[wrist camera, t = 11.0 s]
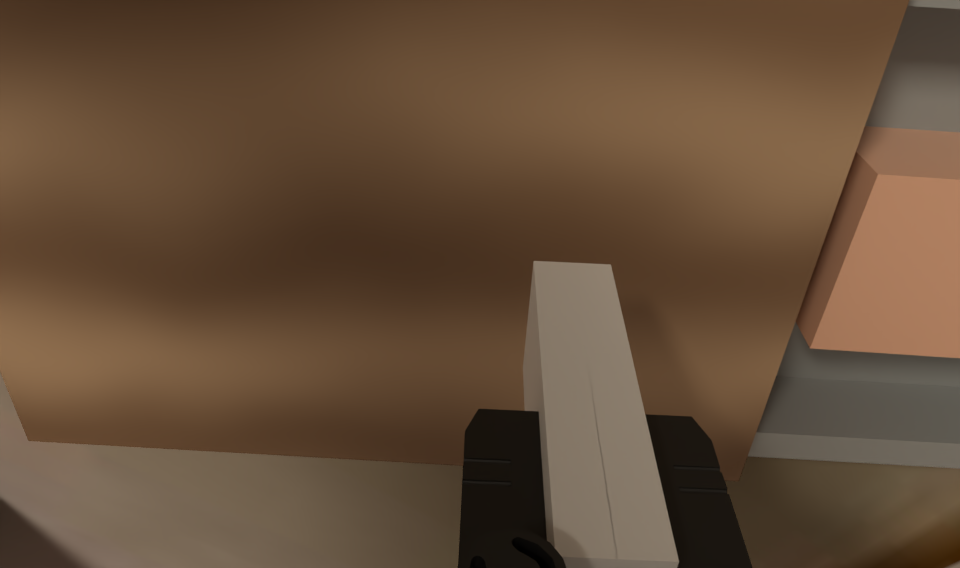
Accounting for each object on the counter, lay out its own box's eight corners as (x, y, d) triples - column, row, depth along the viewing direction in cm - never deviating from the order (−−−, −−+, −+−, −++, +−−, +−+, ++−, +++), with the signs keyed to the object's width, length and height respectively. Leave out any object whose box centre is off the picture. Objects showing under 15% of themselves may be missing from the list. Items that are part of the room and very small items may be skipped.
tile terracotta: (829, 123, 19) (878, 174, 17) (1023, 136, 19) (1099, 189, 17) (775, 284, 22) (809, 348, 19) (944, 295, 22) (1000, 360, 19)
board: (-56, -126, 17) (-194, -103, 14) (841, -73, 17) (923, -39, 14) (92, 352, 25) (28, 440, 21) (707, 387, 25) (738, 481, 21)
